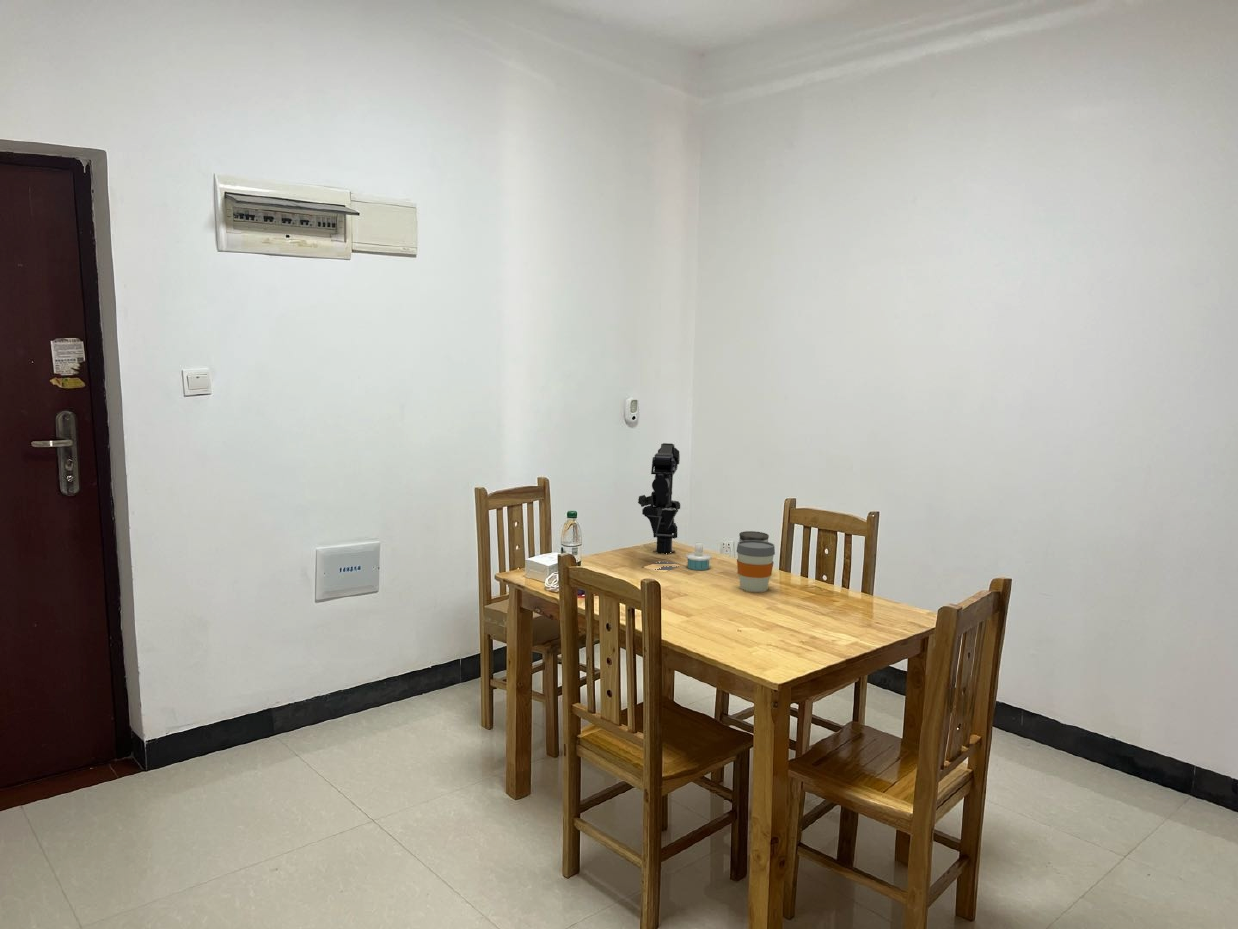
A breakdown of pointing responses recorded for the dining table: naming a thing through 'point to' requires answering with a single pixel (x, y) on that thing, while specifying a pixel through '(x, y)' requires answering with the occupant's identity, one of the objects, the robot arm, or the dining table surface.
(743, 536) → the coffee can
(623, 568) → the dining table surface
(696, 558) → the lid
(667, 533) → the robot arm
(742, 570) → the reusable coffee cup
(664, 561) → the mat
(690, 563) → the bowl
